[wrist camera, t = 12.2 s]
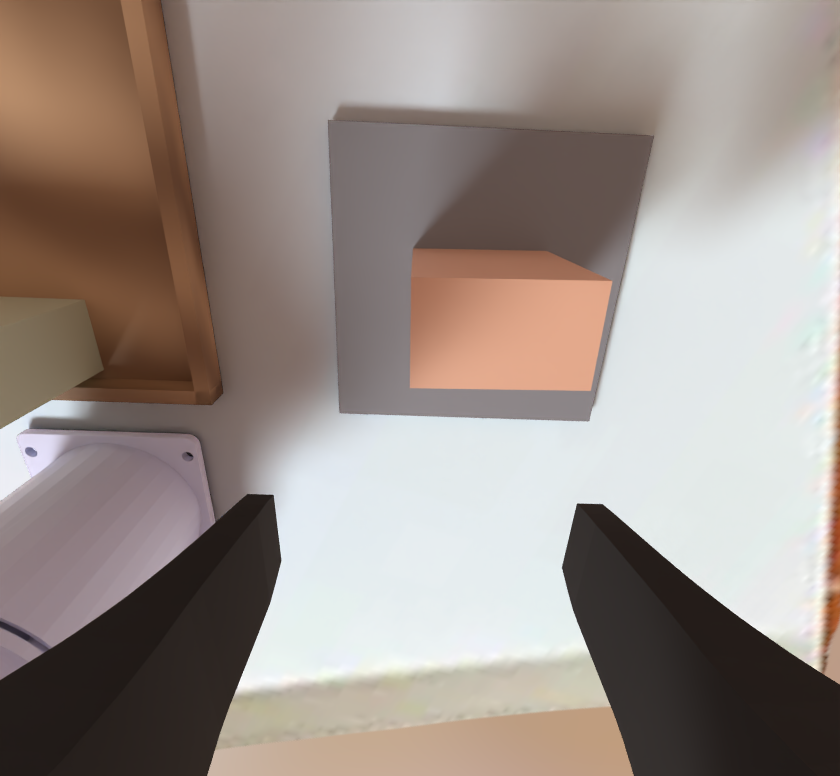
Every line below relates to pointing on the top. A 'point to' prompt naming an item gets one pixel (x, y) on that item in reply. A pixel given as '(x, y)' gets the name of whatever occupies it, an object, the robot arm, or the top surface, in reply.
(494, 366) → the salmon pink box
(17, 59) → the wooden serving tray
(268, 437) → the top surface
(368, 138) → the mat
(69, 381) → the khaki rectangular block
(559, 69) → the top surface
